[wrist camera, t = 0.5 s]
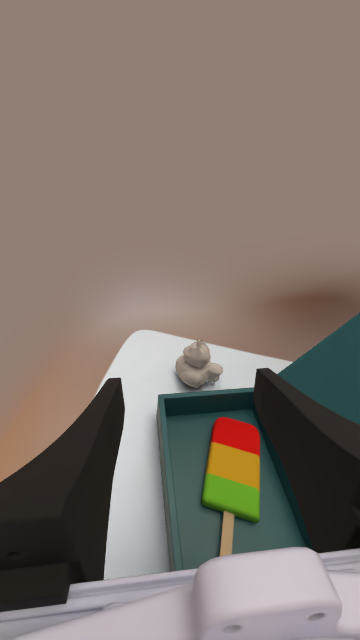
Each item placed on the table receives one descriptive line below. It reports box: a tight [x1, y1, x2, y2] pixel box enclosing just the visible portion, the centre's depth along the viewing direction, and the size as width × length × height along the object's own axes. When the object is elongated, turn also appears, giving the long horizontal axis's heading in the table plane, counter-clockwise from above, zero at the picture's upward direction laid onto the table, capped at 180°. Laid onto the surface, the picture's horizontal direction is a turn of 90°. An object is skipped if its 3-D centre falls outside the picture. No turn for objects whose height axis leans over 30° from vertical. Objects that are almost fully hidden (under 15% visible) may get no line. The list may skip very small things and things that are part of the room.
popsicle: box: [201, 417, 260, 557], centre depth 25 cm, size 6×15×2 cm, turn 166°
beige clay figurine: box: [176, 339, 223, 388], centre depth 35 cm, size 5×7×8 cm
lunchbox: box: [157, 388, 313, 572], centre depth 25 cm, size 13×19×5 cm
